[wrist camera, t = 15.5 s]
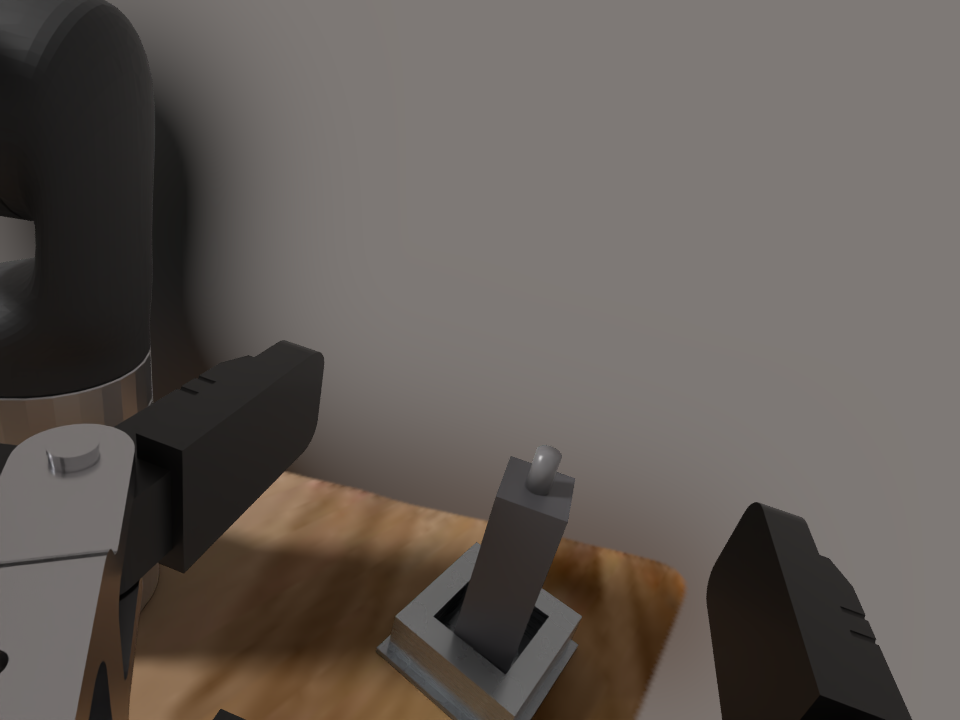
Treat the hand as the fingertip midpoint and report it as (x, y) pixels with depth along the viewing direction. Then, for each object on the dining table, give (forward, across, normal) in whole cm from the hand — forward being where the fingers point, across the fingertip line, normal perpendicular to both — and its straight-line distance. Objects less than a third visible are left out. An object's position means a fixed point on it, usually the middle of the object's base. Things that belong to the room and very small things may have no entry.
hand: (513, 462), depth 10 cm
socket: (+18, -1, +28) cm, 33 cm away
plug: (+18, -1, +28) cm, 33 cm away
